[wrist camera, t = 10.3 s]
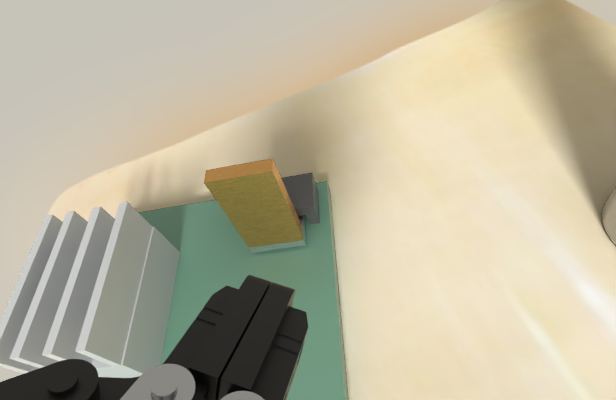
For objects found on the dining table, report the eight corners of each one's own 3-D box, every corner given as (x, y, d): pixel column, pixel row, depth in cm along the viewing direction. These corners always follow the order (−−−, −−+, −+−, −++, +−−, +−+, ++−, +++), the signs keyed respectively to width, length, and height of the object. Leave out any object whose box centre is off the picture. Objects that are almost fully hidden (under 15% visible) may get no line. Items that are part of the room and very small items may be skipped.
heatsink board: (353, 456, 29) (326, 442, 20) (60, 473, 32) (-71, 467, 24) (330, 192, 43) (308, 117, 34) (128, 225, 47) (62, 164, 38)
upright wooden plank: (306, 245, 37) (272, 170, 28) (252, 252, 38) (204, 182, 29) (304, 194, 41) (273, 114, 32) (255, 202, 41) (212, 126, 33)
